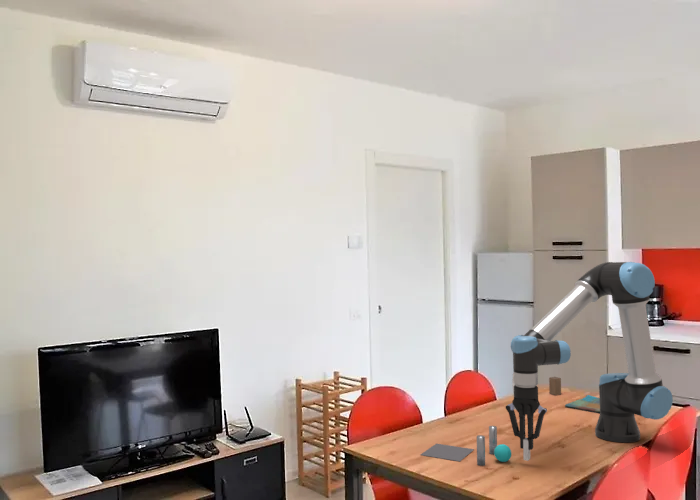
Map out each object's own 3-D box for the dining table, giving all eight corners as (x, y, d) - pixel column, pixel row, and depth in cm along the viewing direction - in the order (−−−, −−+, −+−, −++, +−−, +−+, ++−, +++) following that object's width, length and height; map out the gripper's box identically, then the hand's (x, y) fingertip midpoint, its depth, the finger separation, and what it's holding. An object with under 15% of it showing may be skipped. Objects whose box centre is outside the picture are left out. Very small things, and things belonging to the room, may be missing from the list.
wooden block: (555, 393, 297) (554, 376, 297) (561, 394, 294) (561, 377, 294) (549, 394, 295) (548, 377, 295) (555, 395, 292) (555, 378, 292)
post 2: (498, 452, 209) (497, 426, 209) (495, 455, 206) (495, 428, 206) (490, 451, 210) (490, 425, 210) (488, 453, 208) (487, 427, 208)
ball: (493, 445, 204) (501, 461, 203) (489, 449, 199) (496, 466, 198) (508, 440, 202) (516, 456, 200) (504, 444, 197) (511, 460, 196)
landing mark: (474, 449, 212) (474, 449, 212) (459, 461, 200) (459, 461, 200) (436, 444, 219) (436, 443, 219) (420, 455, 207) (420, 454, 207)
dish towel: (624, 405, 274) (624, 399, 274) (602, 415, 257) (602, 409, 257) (587, 399, 286) (586, 394, 286) (563, 409, 269) (563, 403, 269)
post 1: (486, 463, 198) (485, 435, 198) (483, 466, 196) (483, 438, 196) (478, 462, 199) (478, 434, 199) (475, 465, 197) (475, 436, 197)
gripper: (549, 384, 196) (550, 458, 196) (508, 381, 203) (510, 452, 203) (543, 389, 190) (545, 466, 190) (502, 385, 196) (503, 459, 196)
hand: (527, 459), depth 196 cm, fingers closed
